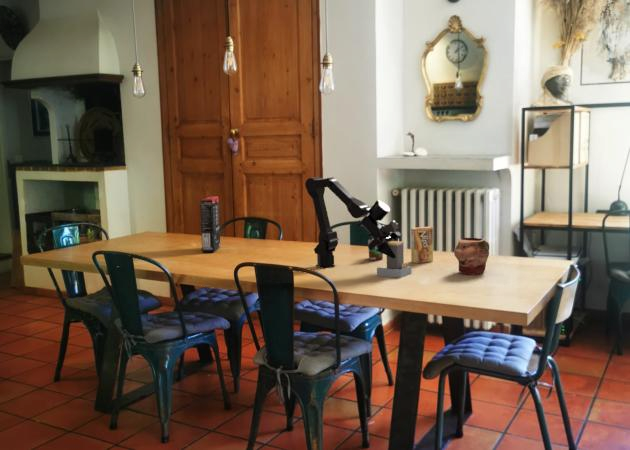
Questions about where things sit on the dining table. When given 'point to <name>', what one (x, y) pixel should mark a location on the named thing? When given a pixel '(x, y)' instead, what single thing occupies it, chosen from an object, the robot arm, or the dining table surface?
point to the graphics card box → (210, 224)
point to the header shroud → (395, 271)
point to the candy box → (422, 244)
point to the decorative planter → (472, 255)
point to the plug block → (398, 252)
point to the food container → (375, 254)
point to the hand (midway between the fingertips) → (397, 256)
